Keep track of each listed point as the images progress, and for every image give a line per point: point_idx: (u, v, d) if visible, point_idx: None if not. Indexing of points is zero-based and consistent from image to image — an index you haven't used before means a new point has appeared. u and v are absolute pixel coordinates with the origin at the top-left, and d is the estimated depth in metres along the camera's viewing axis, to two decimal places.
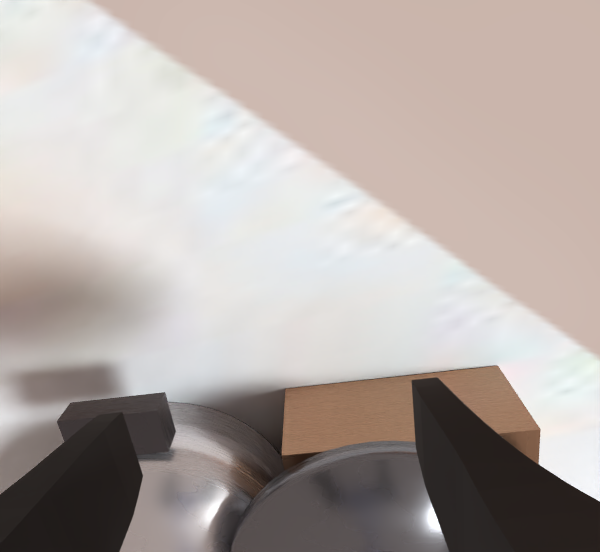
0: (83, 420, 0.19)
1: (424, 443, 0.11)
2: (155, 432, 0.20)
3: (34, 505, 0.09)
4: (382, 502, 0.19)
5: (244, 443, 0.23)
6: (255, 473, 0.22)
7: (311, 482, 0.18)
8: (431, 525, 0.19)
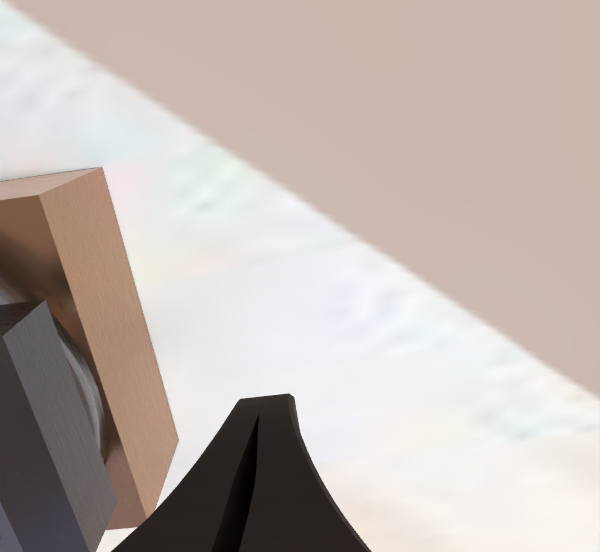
0: None
1: None
2: None
3: (230, 485, 0.09)
4: None
5: None
6: None
7: None
8: None
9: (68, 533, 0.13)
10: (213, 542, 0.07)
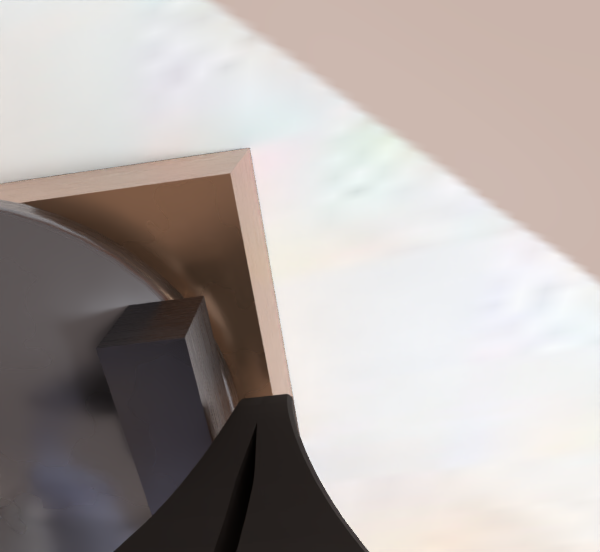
0: None
1: None
2: None
3: (232, 485, 0.09)
4: None
5: None
6: None
7: None
8: (23, 334, 0.12)
9: None
10: (215, 541, 0.07)
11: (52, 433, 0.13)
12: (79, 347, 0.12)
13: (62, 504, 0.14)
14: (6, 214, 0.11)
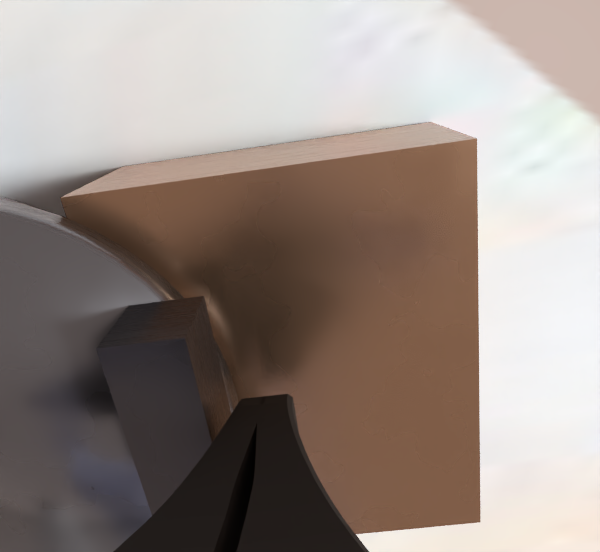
0: None
1: None
2: None
3: (233, 485, 0.09)
4: None
5: None
6: None
7: None
8: (23, 335, 0.12)
9: None
10: (216, 542, 0.07)
11: (52, 433, 0.13)
12: (79, 347, 0.12)
13: (62, 504, 0.14)
14: (6, 214, 0.11)
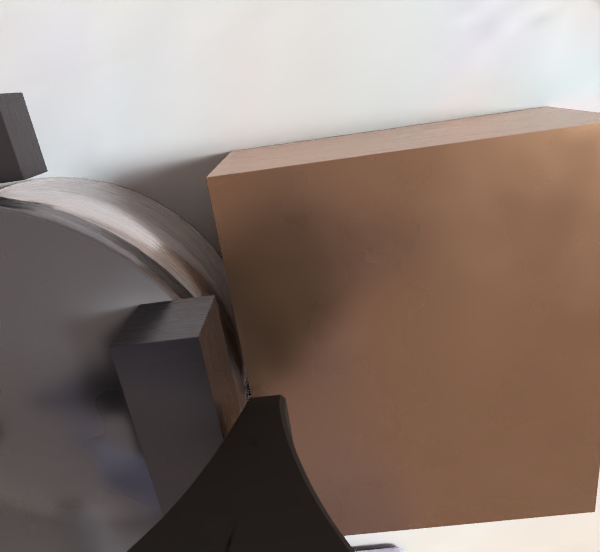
0: None
1: None
2: None
3: (245, 484, 0.08)
4: None
5: (169, 226, 0.16)
6: (181, 258, 0.15)
7: None
8: (34, 334, 0.12)
9: None
10: (231, 540, 0.07)
11: (61, 432, 0.13)
12: (89, 346, 0.12)
13: (71, 504, 0.14)
14: (18, 213, 0.11)
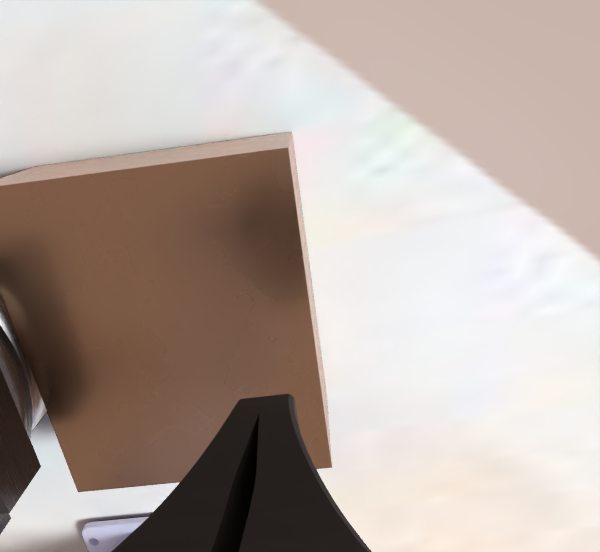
0: None
1: None
2: None
3: (230, 485, 0.09)
4: None
5: None
6: None
7: None
8: None
9: None
10: (213, 542, 0.07)
11: None
12: None
13: None
14: None
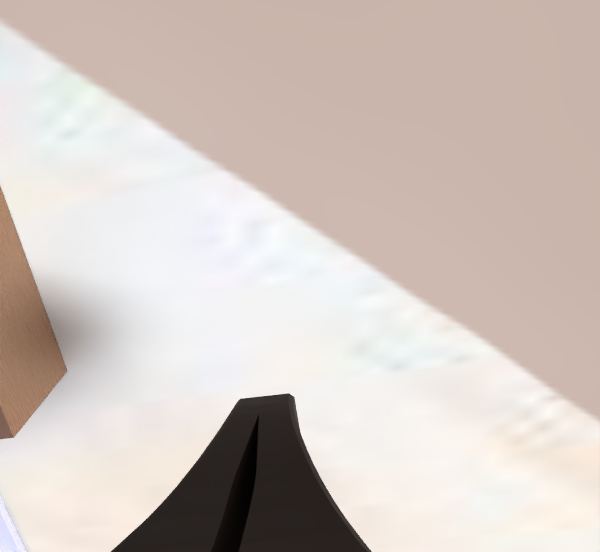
0: None
1: None
2: None
3: (230, 485, 0.09)
4: None
5: None
6: None
7: None
8: None
9: None
10: (213, 542, 0.07)
11: None
12: None
13: None
14: None
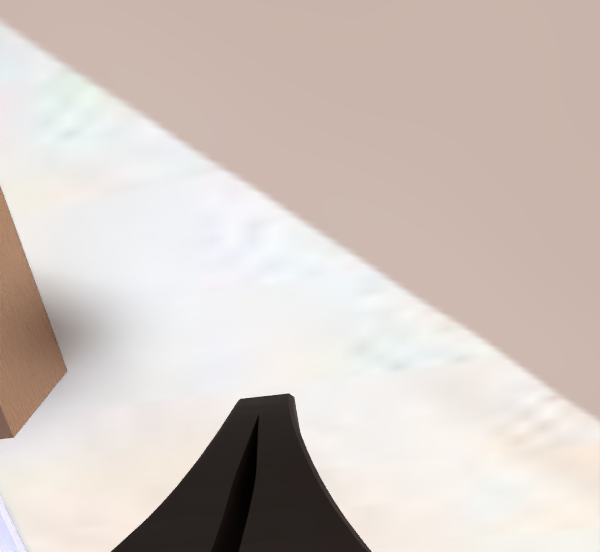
0: None
1: None
2: None
3: (230, 485, 0.09)
4: None
5: None
6: None
7: None
8: None
9: None
10: (213, 542, 0.07)
11: None
12: None
13: None
14: None
